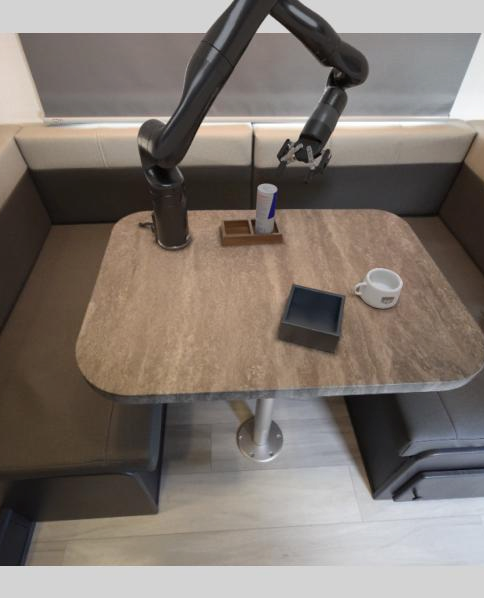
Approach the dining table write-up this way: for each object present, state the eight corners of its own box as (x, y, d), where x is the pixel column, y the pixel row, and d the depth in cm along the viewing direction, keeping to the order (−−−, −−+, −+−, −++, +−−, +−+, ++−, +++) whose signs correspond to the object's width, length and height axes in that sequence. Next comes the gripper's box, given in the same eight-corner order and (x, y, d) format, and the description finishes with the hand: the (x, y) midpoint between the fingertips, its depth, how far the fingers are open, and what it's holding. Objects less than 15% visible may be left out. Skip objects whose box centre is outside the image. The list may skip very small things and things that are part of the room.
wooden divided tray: (221, 227, 110) (220, 219, 108) (275, 225, 112) (276, 217, 109) (223, 245, 104) (223, 237, 101) (281, 242, 105) (282, 234, 103)
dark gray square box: (289, 301, 88) (292, 283, 84) (339, 313, 86) (345, 295, 81) (278, 339, 80) (280, 321, 75) (333, 353, 77) (339, 336, 73)
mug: (388, 282, 94) (396, 265, 89) (402, 309, 87) (412, 292, 83) (344, 284, 93) (350, 267, 89) (356, 311, 86) (362, 294, 82)
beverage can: (271, 239, 105) (276, 194, 95) (253, 237, 106) (255, 191, 95) (274, 229, 109) (278, 184, 98) (256, 226, 110) (259, 181, 99)
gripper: (293, 113, 95) (264, 166, 95) (340, 123, 88) (309, 180, 88) (301, 130, 102) (274, 180, 102) (345, 141, 95) (316, 194, 95)
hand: (290, 180), depth 95 cm, fingers open, 8 cm apart
